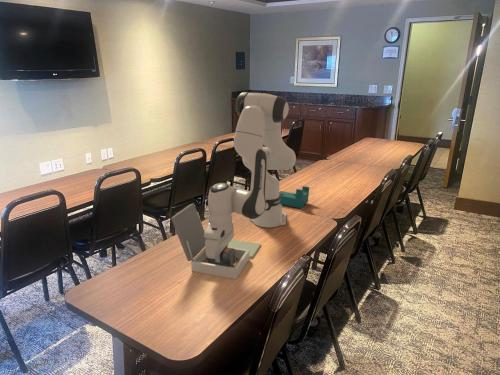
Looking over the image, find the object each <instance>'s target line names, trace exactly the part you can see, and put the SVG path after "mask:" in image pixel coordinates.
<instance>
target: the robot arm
mask: <svg viewBox="0 0 500 375" xmlns="http://www.w3.org/2000/svg"><path fill="white" fill-rule="evenodd" d="M234 107H235V112H236V114H237V115H238V116H239V118H238V121H237V123H236V124H237V125H236V127H235V132H234V136H233V147H234V149H235V152H236V153H237V154H238V155H239V156H240V157H241V159H242V163H243V165H244V166H245V167H246V168H247V169H248V170H249V171H250V172H251V176H250V177H251V178H250V180H251V181H250V190H246V189H243V188H240V187H237V186H236V187H235V186H232V185H230V184H228V183H225V182H219V183H215V184H213V185H211V186H210V188H209V192H208V196H207V199H208V200H207V205H208V212H209V216H208V223H207V226H206V228H205V229H204V231H205V232H204V237H205V238H206V240H205V247H204V248H205V251H206V256H207V258H211V259H215V261H216V262H218V263H219V262H220V261H221V257H220V253H221V252H222V251H223V249H224V248H225V247H228V243H229V242H230V241H231V240H234V237H235V227H234V223H233V216H232V214H233V213H234V214H238V215H241V216H244V217H246V218H247V219H249V221H250V222H252V223H253V224H254V226H255V225H256V226H258V227H261V228H267V229H268V228H276V227H280V226H286V224H287V213H286V212H284V211H283V205H282V204H281V203H280V194H279V192H280V185H281V184H280V180H279V179H278V178H277V177H276V176H274V175H272V174H270V173H269V171H270V170H271V171H272V170H273V171H274V170H276V171H283V170H291V169H292V168H294V166H295V165H296V162H297V156H296V153H295V151H294V150H293V149H292V148H290V147H289V146H288V145H287V144H286V143H285V142H284V140H283V136H282V122H284V121H285V120H286V118H287V116H288V115H289V102H288V100H287V99H286V97H283V96H280V95H274V94H270V93H264V92H263V93H262V92H250V91H243V92H241V93H240V94H239V95H238V96H237V98H236V100H235V106H234ZM268 170H269V171H268ZM207 258H206V259H207Z"/></svg>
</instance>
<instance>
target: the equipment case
mask: <svg viewBox="0 0 500 375" xmlns="http://www.w3.org/2000/svg"><path fill="white" fill-rule="evenodd" d="M186 244H187V247H188V250H189V253H190V257H191V262H190V263H191V265H190V266H191V272H195V273H200V274H206V275H211V276H217V277H221V278H226V279H233V280H237V278H238V277H239V275H240V273H241V272H242V271H243V269H244V268H245V266H246V265H247V263H248V262H249V260H250V258H249V250H245V249H239V248H233V247H228V248H233V249H235V259H239V260H238V262H237V263H236V265H235V266H234V267H233V266H232V267H226V266H220V265H215V264H210V263H208V262H204V261H205V260H206V259H207V256H206V251H205V247H204V248H203V249H202V250H201V251H200V252H199V253H198V254H197V255H196V256H195V257H194V258H193V256H192V253H191V249H190V246H189V243H188V241H186Z"/></svg>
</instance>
